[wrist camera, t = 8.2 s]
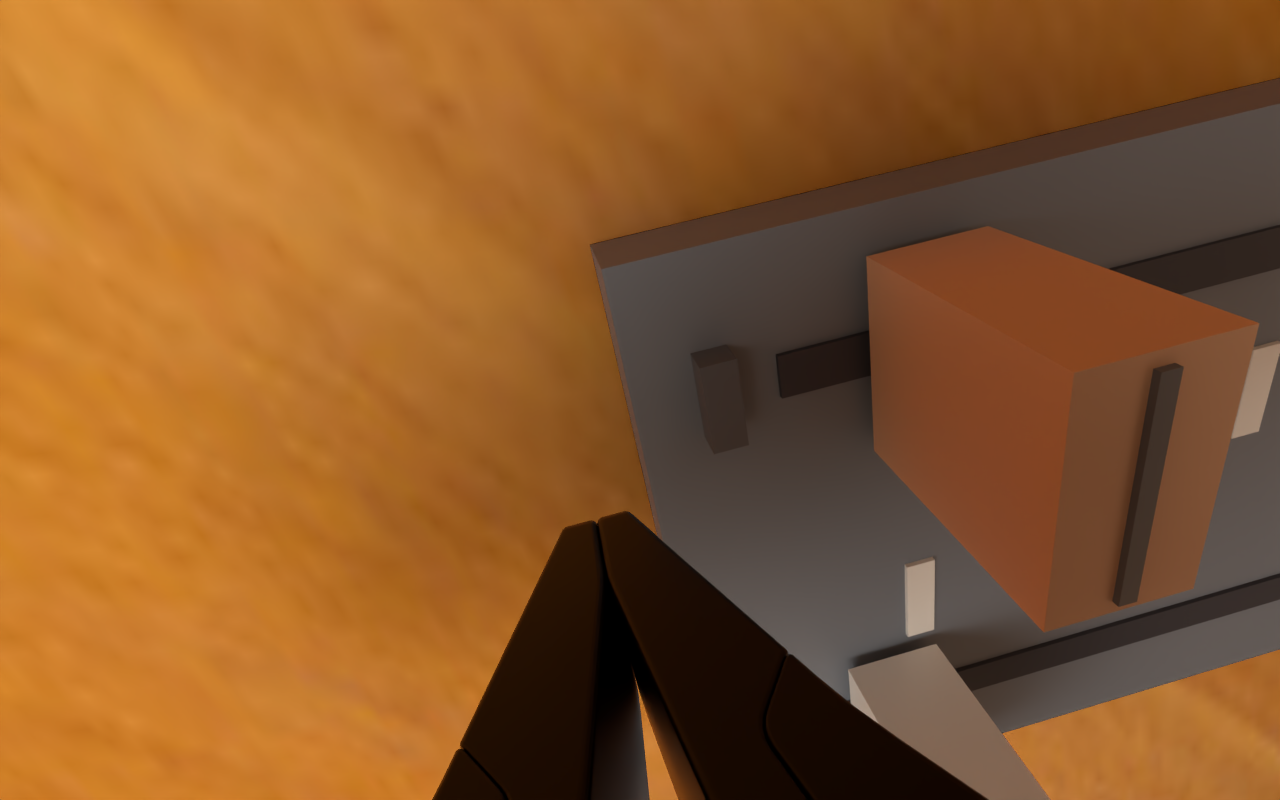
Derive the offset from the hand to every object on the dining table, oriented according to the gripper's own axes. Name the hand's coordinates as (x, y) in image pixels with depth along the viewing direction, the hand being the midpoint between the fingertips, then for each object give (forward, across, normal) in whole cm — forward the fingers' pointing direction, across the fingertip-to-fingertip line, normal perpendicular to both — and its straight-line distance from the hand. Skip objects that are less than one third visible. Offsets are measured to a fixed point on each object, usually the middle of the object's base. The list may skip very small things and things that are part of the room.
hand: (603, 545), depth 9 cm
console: (+5, -10, +4) cm, 12 cm away
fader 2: (+3, -6, 0) cm, 7 cm away
